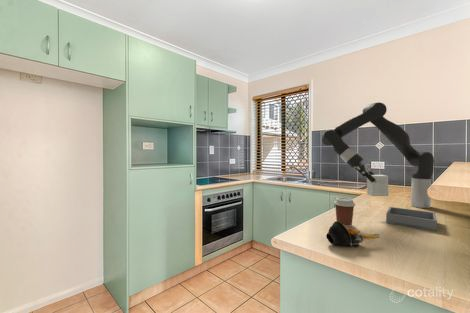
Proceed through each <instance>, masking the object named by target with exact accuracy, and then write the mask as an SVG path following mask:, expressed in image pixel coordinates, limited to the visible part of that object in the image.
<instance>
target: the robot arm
mask: <svg viewBox="0 0 470 313" xmlns="http://www.w3.org/2000/svg"><path fill="white" fill-rule="evenodd" d="M387 111H388V110H387V106H386V104H385V103H383V102H381V101H379V102H374V103H370V104H367V105H365V106H364V107H363V109H362V113H360V114H359V115H356V116H354V117H352V118H349V119H347V120H345V121H344V122H342V123H340V124H339V125H337V126H336V127H335V128H334V129H327V130H326V131H324V133H323V136H322V144H324V145H325V146H332V147H333V151H334V152H335V153H336V154H337V155H338V156H339V157H340V158H341V160H343V162H345V163H346V164H347V165H348V166H349V168H351V169H354V168H355V170H356V171H357V172H358V173H360V175H362V177H364V178H366V179H367V178H368V179H369V180H370V181H371V182H374V181H375V180H376V179H375V178H374V177H373V176H371V175H376V174H375V173H374V172H373V170H372V169H371V168H370V167H369V166H368V165H367V164H365V163H362V162H363V161H364V158H363V157H362V156H360V154H359V153H357V152H356V151H355V150H354V149H353V148H351V147H350V146H349V145H348V144H346V143H345V142H344V140H343V139H342V138H344V137H345V136H346V135H348V134H350V133H352V132H353V131H355V130H357V129H358V128H360V127H362V126H364V125H366V124H368V123H371V124H372V125H373V126H375V127H376V129H378V130H379V131H380V132H381V133H382V135H384V136H385V137H386V139H387V140H388V141H389V142H390V143H391V144H392V145H393V146H394V147H395V148H396V149H398V151H399V152H400V153H401V154H402V155H403V157H404V158H405V159H406V160H407V163H409V164H410V166H413V167H416V168H417V171H415V172H412V173H411V181H410V182H411V185H410V186H411V187H410V190H411V191H410V206H411V207H414V208H419V209H430V208H432V207H431V203H432V202H431V198H432V197H431V198H429V197H428V195H427V189H428V188H429V186H430V185H431V186H432V176H433V173H434V166H435V157H434V155H433V154H432V153H431V152H429V151H417V149H415V148H414V147H413V146H412V144H411V139H410V135H409V134H408V133H407V131H405V129H403V127H401V125H398V124H396V123H394V122H392V121H391V120H390V119H389V120H388V119H387V118H386V117H384V116H385V115H386V113H387Z"/></svg>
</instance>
